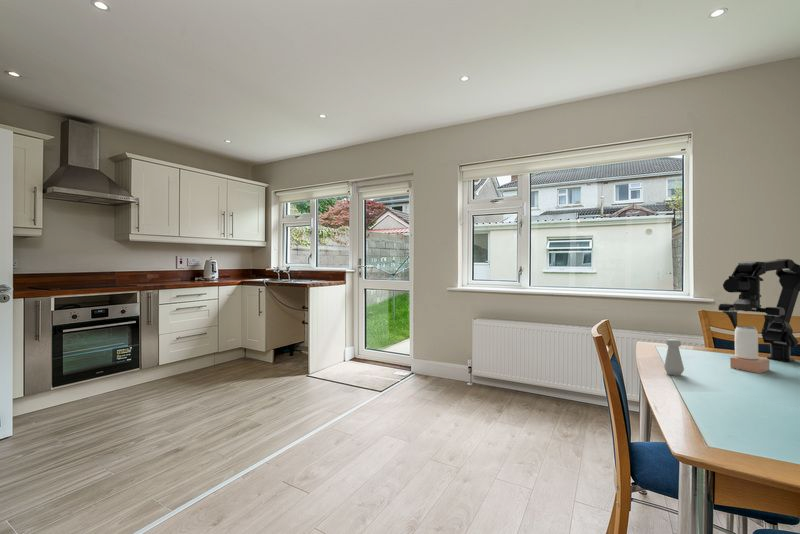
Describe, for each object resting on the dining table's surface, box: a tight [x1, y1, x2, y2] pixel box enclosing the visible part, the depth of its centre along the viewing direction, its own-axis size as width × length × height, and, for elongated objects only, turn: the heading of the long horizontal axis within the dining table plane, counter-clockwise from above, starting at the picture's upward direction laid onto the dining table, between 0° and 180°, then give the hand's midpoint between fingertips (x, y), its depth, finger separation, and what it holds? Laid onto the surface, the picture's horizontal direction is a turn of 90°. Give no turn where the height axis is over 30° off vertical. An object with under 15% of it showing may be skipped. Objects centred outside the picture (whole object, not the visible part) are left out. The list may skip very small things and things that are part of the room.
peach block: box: [729, 355, 771, 374], centre depth 136 cm, size 8×8×4 cm
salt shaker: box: [663, 338, 685, 377], centre depth 131 cm, size 6×6×13 cm
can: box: [734, 325, 759, 360], centre depth 137 cm, size 6×6×12 cm
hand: (750, 330), depth 145 cm, fingers open, 9 cm apart
